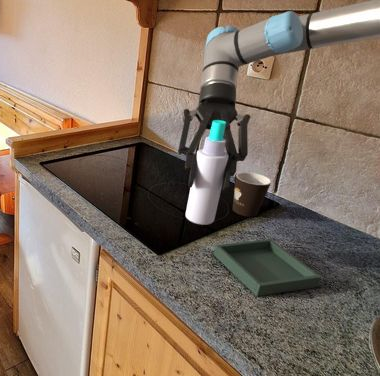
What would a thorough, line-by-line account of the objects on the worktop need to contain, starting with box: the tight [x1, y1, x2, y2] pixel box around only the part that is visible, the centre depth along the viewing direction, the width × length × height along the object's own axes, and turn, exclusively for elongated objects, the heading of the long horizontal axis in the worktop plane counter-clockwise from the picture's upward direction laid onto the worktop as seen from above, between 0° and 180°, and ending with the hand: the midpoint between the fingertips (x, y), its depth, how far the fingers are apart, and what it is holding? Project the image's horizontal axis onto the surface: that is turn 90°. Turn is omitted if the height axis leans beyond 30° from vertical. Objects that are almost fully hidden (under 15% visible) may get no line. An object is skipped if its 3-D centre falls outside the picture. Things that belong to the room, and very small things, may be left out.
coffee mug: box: [232, 171, 272, 218], centre depth 112 cm, size 12×9×10 cm
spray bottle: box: [185, 120, 228, 226], centre depth 85 cm, size 6×6×22 cm
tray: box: [213, 238, 322, 297], centre depth 87 cm, size 15×15×3 cm
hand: (208, 186), depth 82 cm, fingers closed on spray bottle, 6 cm apart
